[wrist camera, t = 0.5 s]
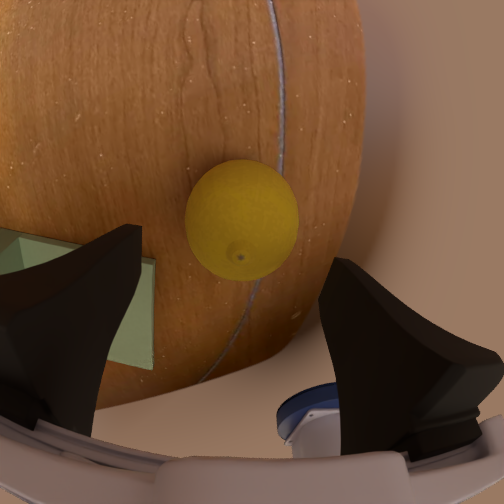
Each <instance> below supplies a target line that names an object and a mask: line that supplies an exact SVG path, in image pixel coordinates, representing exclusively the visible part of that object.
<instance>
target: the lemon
mask: <svg viewBox="0 0 504 504" xmlns="http://www.w3.org/2000/svg"><path fill="white" fill-rule="evenodd" d="M298 226H299V216H298V206H297V202H296V199H295V197H294V194H293V192H292V189H291V188H290V186H289V185H288V184H287V182H286V181H285V180H284V178H283V177H282V176H281V175H280V174H279V173H277V172H276V171H275V170H274V169H272V168H271V167H269V166H267V165H265V164H263V163H260V162H258V161H253V160H246V159H239V160H230V161H227V162H224V163H222V164H219V165H216V166H215V167H213V168H212V169H211V170H209V171H208V172H206V173H205V174H204V175H203V176H202V177H201V179H200V180H199V181H198V182H197V183H196V185H195V186H194V188H193V190H192V192H191V194H190V197H189V199H188V201H187V206H186V214H185V227H186V234H187V240H188V243H189V245H190V247H191V250H192V252H193V254H194V255H195V257H196V258H197V259H198V261H199V262H200V263H201V264H202V265H203V266H204V267H205V268H206V269H208V270H209V271H210V272H212V273H213V274H215V275H217V276H219V277H222V278H224V279H228V280H232V281H250V280H256V279H259V278H262V277H264V276H266V275H269V274H270V273H272V272H273V271H274V270H276V269H277V268H278V267H280V266H281V265H282V263H283V262H284V261H285V260H286V259H287V258H288V256H289V255H290V253H291V250H292V248H293V246H294V244H295V242H296V238H297V232H298Z"/></svg>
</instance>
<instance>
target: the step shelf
mask: <svg viewBox="0 0 504 504" xmlns="http://www.w3.org/2000/svg"><path fill="white" fill-rule="evenodd" d="M81 246H83V245H79V244H74V243H69V242H65V241H60V240H55V239H50V238H46V237H41V236H36V235H32V234H27V233H22V232H18V231H13V230H9V229H4V228H0V275H2V274H7V273H11V272H15V271H19V270H23V269H26V268H29V267H32V266H35V265H39V264H42V263H45V262H47V261H50V260H52V259H55V258H58V257H60V256H62V255H65V254H67V253H69V252H71V251H73V250H75V249H77V248H79V247H81ZM155 263H156V260H155V259H151V258H146V257H142V273H141V276H140V279H139V282H138V286H137V288H136V291H135V294H134V297H133V299H132V301H131V303H130V305H129V307H128V309H127V311H126V313H125V316H124V318H123V320H122V322H121V324H120V326H119V328H118V331H117V333H116V335H115V337H114V340H113V342H112V345H111V347H110V350H109V354H108V357H107V360H111V361H115V362H119V363H123V364H127V365H131V366H136V367H140V368H144V369H149V370H153V367H154V286H155Z"/></svg>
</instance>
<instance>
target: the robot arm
mask: <svg viewBox="0 0 504 504" xmlns="http://www.w3.org/2000/svg"><path fill="white" fill-rule="evenodd" d="M141 273H142V226H139V225H132V224H124V225H122V226H120V227H118V228H116V229H114V230H112V231H110V232H108V233H106V234H104V235H102V236H101V237H99V238H97V239H95V240H93V241H91V242H89V243H87V244H85V245H83V246H81V247H79V248H77V249H75V250H73V251H71V252H69V253H67V254H65V255H62V256H60V257H58V258H55V259H52V260H50V261H47V262H45V263H42V264H39V265H35V266H32V267H29V268H26V269H23V270H19V271H15V272H11V273H7V274H2V275H0V488H2V489H4V490H5V491H7V492H9V493H10V494H12V495H14V496H16V497H18V498H20V499H21V500H23V501H25V502H27V503H29V504H459V503H461V502H463V501H465V500H467V499H469V498H471V497H473V496H475V495H477V494H478V493H480V492H482V491H484V490H485V489H487V488H489V487H490V486H492V485H493V484H495V483H497V482H498V481H500V480H501V479H503V478H504V419H503V417H502V415H497V416H494V417H492V418H489V419H486V420H484V421H482V422H481V423H480V424H478V422H477V420H476V417H478V416H479V415H480V411H479V409H478V407H477V406H478V405H479V404H480V403H481V402H482V401H483V400H484V399H485V398H486V397H487V396H488V395H489V394H490V392H492V390H494V388H495V387H496V386H497V385H498V384H499V382H500V381H501V379H502V377H503V375H504V363H503V361H502V360H501V358H500V356H499V355H498V354H497V353H496V352H494V351H492V350H489V349H486V348H483V347H481V346H478V345H475V344H473V343H470V342H468V341H466V340H464V339H462V338H459V337H457V336H455V335H453V334H451V333H449V332H447V331H445V330H444V329H442V328H440V327H438V326H437V325H435V324H433V323H432V322H430V321H429V320H427V319H425V318H424V317H422V316H421V315H419V314H418V313H416V312H415V311H414V310H412V309H411V308H409V307H408V306H407V305H405V304H404V303H403V302H401V301H400V300H399V299H398V298H396V297H395V296H394V295H393V294H391V293H390V292H389V291H388V290H387V289H385V288H384V287H383V286H382V285H381V284H379V283H378V282H377V281H376V280H375V279H374V278H372V277H371V276H370V275H369V274H368V273H366V272H365V271H364V270H363V269H361V268H360V267H359V266H358V265H356V264H355V263H354V262H352V261H350V260H349V259H343V258H337V257H334V260H333V263H332V265H331V268H330V271H329V273H328V276H327V278H326V281H325V283H324V286H323V289H322V291H321V294H320V296H319V298H318V302H319V311H320V317H321V323H322V327H323V330H324V334H325V338H326V342H327V345H328V349H329V352H330V356H331V360H332V363H333V367H334V372H335V376H336V383H337V391H338V400H339V408H312V409H309V410H308V411H307V413H306V414H305V416H304V417H303V418H302V420H301V421H300V422H299V424H298V425H297V426H296V428H295V429H294V430H293V432H292V433H291V434H290V436H289V437H288V438H287V439H286V441H285V442H284V445H286V446H292V454H293V458H290V459H268V458H267V459H266V458H265V459H264V458H241V457H209V456H191V457H184V458H178V457H171V456H166V455H160V454H154V453H150V452H145V451H140V450H136V449H131V448H127V447H123V446H119V445H115V444H112V443H108V442H104V441H101V440H97V439H94V438H91V432H92V425H93V418H94V412H95V407H96V401H97V396H98V391H99V387H100V383H101V379H102V375H103V371H104V367H105V364H106V360H107V357H108V354H109V350H110V347H111V345H112V342H113V340H114V337H115V335H116V333H117V331H118V328H119V326H120V324H121V322H122V320H123V318H124V316H125V313H126V311H127V309H128V307H129V305H130V303H131V301H132V299H133V297H134V294H135V291H136V288H137V286H138V282H139V279H140V276H141Z"/></svg>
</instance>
